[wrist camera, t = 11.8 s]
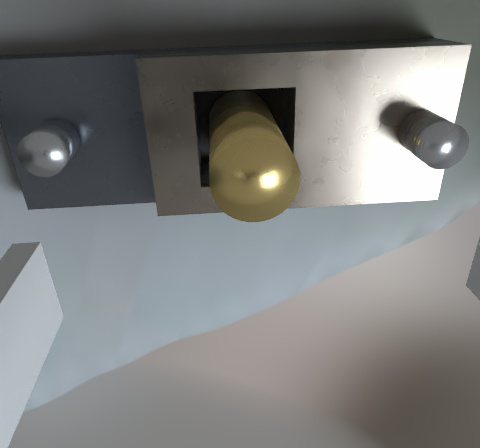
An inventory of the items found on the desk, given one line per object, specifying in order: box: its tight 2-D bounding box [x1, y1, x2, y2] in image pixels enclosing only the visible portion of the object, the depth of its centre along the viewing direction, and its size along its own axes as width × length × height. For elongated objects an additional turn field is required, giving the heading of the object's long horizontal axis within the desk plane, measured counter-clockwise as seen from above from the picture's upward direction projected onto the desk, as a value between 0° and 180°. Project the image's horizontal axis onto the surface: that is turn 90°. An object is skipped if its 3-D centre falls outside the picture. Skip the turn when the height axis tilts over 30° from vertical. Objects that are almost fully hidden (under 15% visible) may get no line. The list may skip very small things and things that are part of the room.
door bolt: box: [0, 38, 471, 216], centre depth 24 cm, size 26×9×7 cm, turn 92°
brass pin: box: [209, 90, 300, 222], centre depth 23 cm, size 4×4×10 cm
